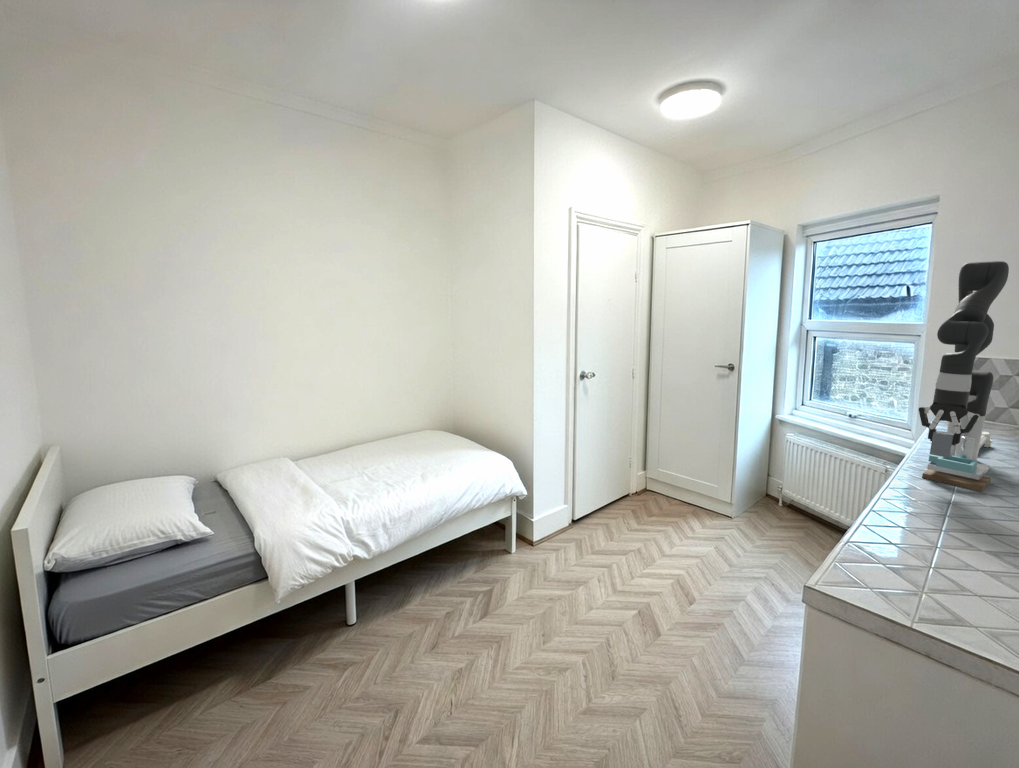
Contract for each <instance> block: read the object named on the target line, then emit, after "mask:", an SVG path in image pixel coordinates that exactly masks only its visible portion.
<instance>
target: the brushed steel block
mask: <svg viewBox="0 0 1019 768" xmlns="http://www.w3.org/2000/svg"><path fill="white" fill-rule="evenodd" d="M953 438H954V433H950V432H947V431H943V430H936V431H935V432H933V437H932V441H931V442H930V443H931V444H930V451H929V455H931V454H932V455H937V456H942V457H947V458H950V457H951V456H952V455H953V449H954V445H952V444H953Z"/></svg>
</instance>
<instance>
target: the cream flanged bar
mask: <svg viewBox="0 0 1019 768" xmlns="http://www.w3.org/2000/svg"><path fill="white" fill-rule="evenodd" d="M992 443H993V440H992V439H991V433H990V432H988V431H982V436H981V441H980V447H979V450H980V449H981V448H983V447H987V448H988V447H990V448H991V444H992Z"/></svg>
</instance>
